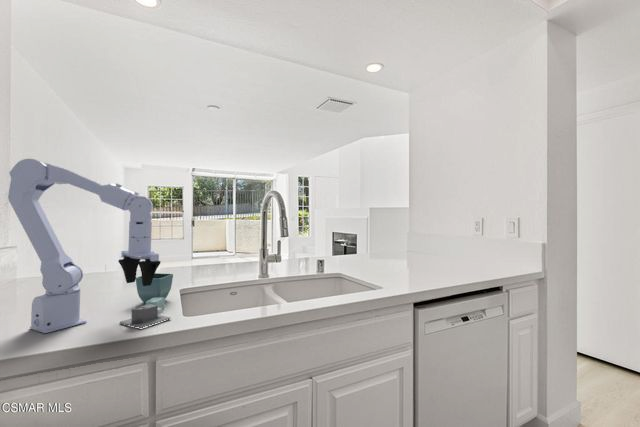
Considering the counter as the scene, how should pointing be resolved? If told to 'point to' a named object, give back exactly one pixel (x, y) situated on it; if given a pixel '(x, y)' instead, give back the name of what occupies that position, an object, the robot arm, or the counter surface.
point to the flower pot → (155, 287)
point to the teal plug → (157, 302)
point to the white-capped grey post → (145, 313)
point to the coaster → (159, 319)
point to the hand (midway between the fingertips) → (138, 284)
